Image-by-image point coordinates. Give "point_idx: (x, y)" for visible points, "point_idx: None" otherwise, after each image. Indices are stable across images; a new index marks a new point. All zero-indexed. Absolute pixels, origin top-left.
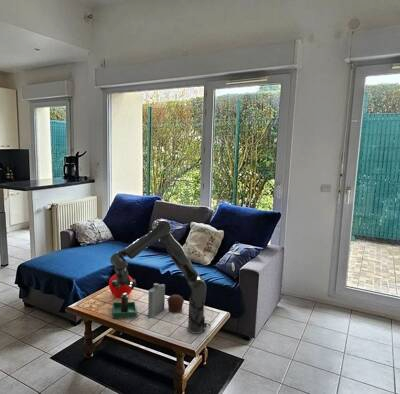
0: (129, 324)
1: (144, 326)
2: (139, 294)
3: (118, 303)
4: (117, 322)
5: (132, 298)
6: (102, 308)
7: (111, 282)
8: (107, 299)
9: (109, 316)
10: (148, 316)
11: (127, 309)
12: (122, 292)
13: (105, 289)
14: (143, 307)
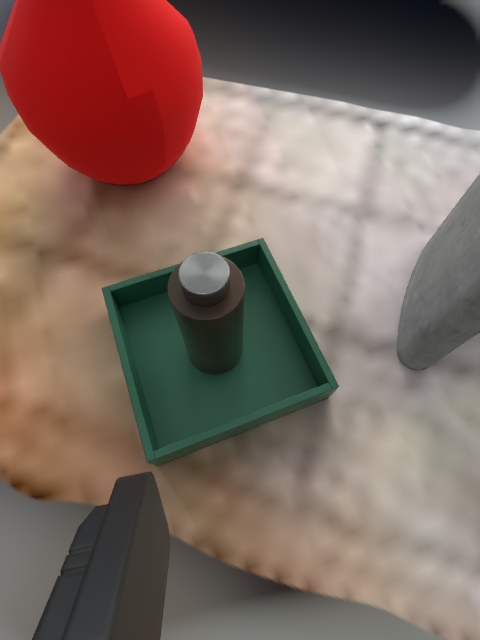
0: (316, 530)
1: (444, 527)
2: (239, 125)
3: (147, 283)
4: (208, 526)
5: (212, 172)
6: (40, 338)
7: (19, 90)
8: (54, 217)
9: (118, 443)
10: (406, 365)
11: (241, 347)
12: (143, 160)
13: (20, 117)
14: (319, 255)
